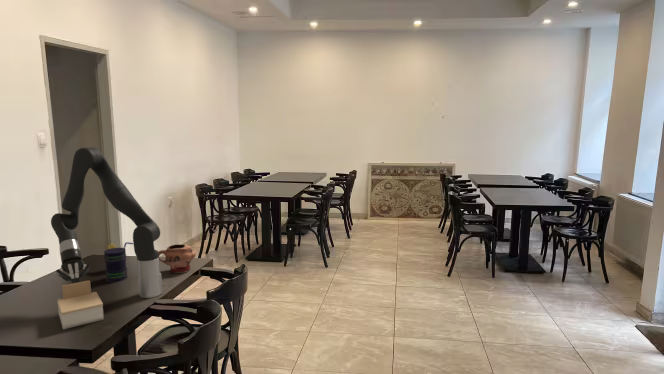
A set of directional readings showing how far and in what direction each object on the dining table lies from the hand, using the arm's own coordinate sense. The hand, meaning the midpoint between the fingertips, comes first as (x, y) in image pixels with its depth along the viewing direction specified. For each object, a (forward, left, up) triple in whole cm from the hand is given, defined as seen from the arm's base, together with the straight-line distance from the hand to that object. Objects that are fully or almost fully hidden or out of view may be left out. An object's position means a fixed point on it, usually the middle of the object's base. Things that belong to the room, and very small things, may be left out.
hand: (76, 287), depth 181 cm
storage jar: (-21, -33, -11) cm, 40 cm away
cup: (-26, -48, -11) cm, 55 cm away
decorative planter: (-49, -26, -11) cm, 56 cm away
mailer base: (0, +7, -10) cm, 13 cm away
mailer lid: (0, +9, -4) cm, 9 cm away
